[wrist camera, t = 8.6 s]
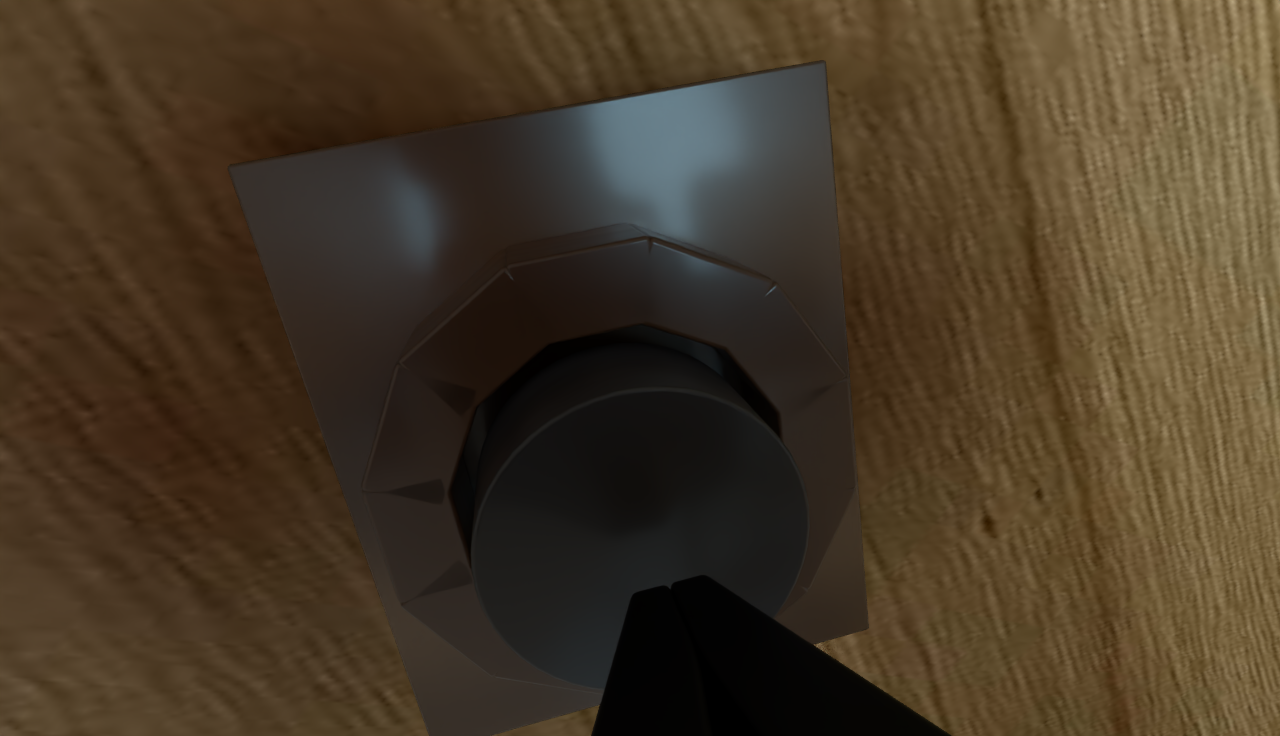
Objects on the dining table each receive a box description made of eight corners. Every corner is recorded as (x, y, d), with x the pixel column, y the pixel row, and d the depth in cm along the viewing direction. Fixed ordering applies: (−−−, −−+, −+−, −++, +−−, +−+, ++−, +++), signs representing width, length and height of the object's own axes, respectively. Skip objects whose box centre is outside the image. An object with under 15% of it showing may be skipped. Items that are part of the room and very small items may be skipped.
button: (772, 562, 12) (825, 643, 10) (514, 630, 11) (515, 731, 9) (741, 313, 10) (794, 351, 8) (442, 378, 10) (428, 435, 8)
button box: (824, 569, 16) (917, 693, 13) (443, 671, 15) (423, 840, 12) (775, 73, 13) (887, 42, 9) (274, 162, 12) (165, 169, 8)
